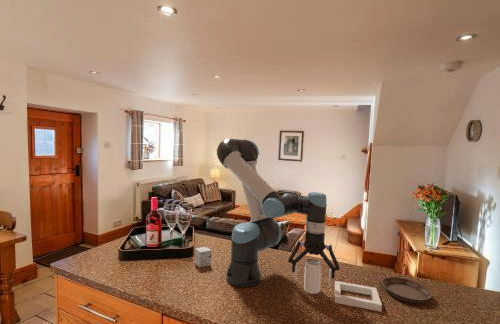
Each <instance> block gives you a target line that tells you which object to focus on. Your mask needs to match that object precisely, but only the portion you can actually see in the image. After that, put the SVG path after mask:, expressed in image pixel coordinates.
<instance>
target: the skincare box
mask: <svg viewBox="0 0 500 324" xmlns="http://www.w3.org/2000/svg"><path fill="white" fill-rule="evenodd" d="M211 262H212V249H210V248H209V247H208V246H202V247H195V248H194V264H195V265H196V266H198V268H203V267H207V266H208V267H209V266H212V264H211Z"/></svg>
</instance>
